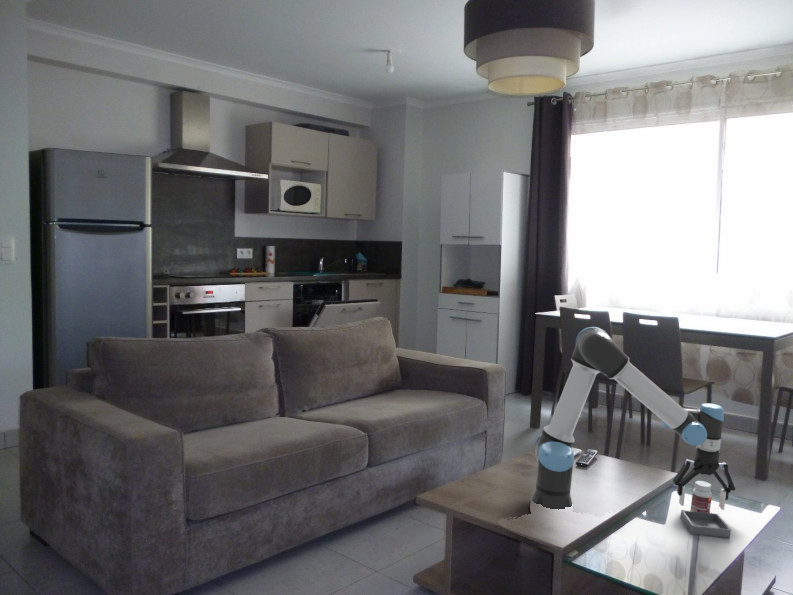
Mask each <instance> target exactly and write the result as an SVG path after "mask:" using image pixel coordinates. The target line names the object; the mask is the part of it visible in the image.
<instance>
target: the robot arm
mask: <svg viewBox="0 0 793 595" xmlns="http://www.w3.org/2000/svg"><path fill="white" fill-rule="evenodd" d="M570 357H571V358H570V360H571V362H572V368H570V369H571V370H570V372H569V374H568V378H567V380H566V382H565V384H564V387H563V390H562V393H561V394H560V397H559V399H558V403H557V405H556V408H555V410H554V412H553V415H552V417H551V420H550V422H549V424H548V425H546V426H544V427H543V429H542V431H541V434H540V435H539V436H538V437H537V438H536V439H535V443H534V455H535V460H536V461H535V462H536V466H537V467H536V468H537V470H536V480H535V488H534V492H533V493H532V495H531V498H530V500H531V499H532V501H533V502H534V503H536V504H541V505H542V506H543V507H546V508H550V509H558V510H559V509H565V507H571V506H572V504H573V500H572V496H571V490H572V480H573V479H572V478H573V468H574V462H575V454H574V450H573V446H574V444H575V440H576V439H575V438H574V435H573V434H574V431H575V429H576V426H577V423H578V422H579V419H580V417H581V414H582V411H583V409H584V407H585V404H586V402H587V399H588V396H589V394H590V392H591V389H592V386H593V385H594V382H595V380H596V377H597V375H598V374H599V373H601V374H602V375H604V377H606V378H607V379H608V380H615V381H616V382H617V383H618V384H619V385H620V386H621V387H623V388H624V389H625V390H626V391H627V392H629V393H630V394H631V395H632V396H633V397H634V398H635V399H637V400H638V401H639V402H640V403H641V404H642V405H644V406H645V407H646V408H647V409H649V411H651V413H653V414H654V415H656V416H657V418H659V419H660V420H661V422H662V423H661V424H662V426H663V427H664V428H665V429H670V430H672V431H674V432H675V433H676V434H677V435H678V436H680V437H681V438H682V440H683V441H684V442H685V443H687V444H688V445H690V446H694V447H695V452H694V453H695V454H694V460H691V459H688V458H685V459H684V462H683V465H682V466H681V468H680V469H679V471H678V472H677V474H676V475H675V477H674V478H673V479H672V482H673V484H674V485H675V486H677V494H678V497H679V499H678V503H679V505H680V506H684V504H685V497H686V496H685V494H686V487H685V486H686V485H687V484H688V483H690V481H691V480H692V479H694V478H695V477H696V476H698V475H699V474H700V475H703V476H705V475H707V476H711V475H713V476H714V477H715V478H716V480H717V481H718V483H719V484H720V485H721V486H722V488H720V495H719V503H718V507H719V509H721V510H723V511H724V510H725V506H726V501H728V499H729V494H730V493H731V491H736V487H735V485H734V482H733V479H732V477H731V475H730V472H729V465H728V463H726V462H725V461H723V462H719V461H720V453H721V452H720V450H721V444H722V433H723V426H724V421H725V420H724V419H725V409H724V408H723V407H722V406H721V405H719V404H715V403H708V402H707V403H701V405H700V407H699V408H696V409H695V408H685V407H682V406H681V405H680V404H679V403H677V402H676V401H675V400H674V399H673V398H672V397H671V396H670V395H668V393H666V392H665V391H664V390H662V388H660V387H659V386H658V385H657V384H655V382H653V381H652V380H651V379H650V378H649V377H647V375H645V373H643V372H642V371H641V370H639V369H638V368H637V367H636V366H634V365H633V364H632V363H631V362H630V357H629V356H628V355H627V354H625V352H624V351H622V350H621V349H620V347H619V346H618V345H617V344H616V341H614V339H613V338H612V337H611V336H610V335H609V333H608V332H607V331H606V330H605V329H602V328H600V327H597V326H589V327H585V328H584V329H582V330H581V331H580V332H578V334H577V336H576V339H575V347H574V349H573V352H572V355H571V356H570ZM692 466H694V467H692ZM690 467H692V468H691V470H690V471H689V469H690ZM719 468H720V469H721V470H722V472H723V475H724V478H725V479H726V483H727V484H726V483H725V481H724V480H723V479H722V477H721V476H720V474H719V473H718V472H717V470H718V469H719ZM688 471H689V472H688Z"/></svg>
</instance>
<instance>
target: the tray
mask: <svg viewBox="0 0 793 595" xmlns="http://www.w3.org/2000/svg"><path fill="white" fill-rule="evenodd" d="M679 518H680V519H681V521H682V523H683V524H684V526H685V527H686V529H687V530H688V532H689V533H690V535H693V536H700V537H701V536H702V537H709V538H710V537H711V538H718V539H728V540H729V539H730V538H731V532H732V531H731V528H730V527H729V526H728V525H727V524H726V523H725V521H724V520H723V518H722V517H721V516H720V515H719V514H718V513H715V512H710V513H707V512H697V511H691V510H689V509H688V510H687V509H681V510H680V517H679Z"/></svg>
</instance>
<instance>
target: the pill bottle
mask: <svg viewBox="0 0 793 595" xmlns="http://www.w3.org/2000/svg"><path fill="white" fill-rule="evenodd" d="M711 491H712V484H711V483H709V482H707V481H705V480H697V481H695V483H694V488H693V489H692V495H691V501H690V502H691V504H690V511H697V512H707V513H711V505H712V497H713V496H712V492H711Z"/></svg>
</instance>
